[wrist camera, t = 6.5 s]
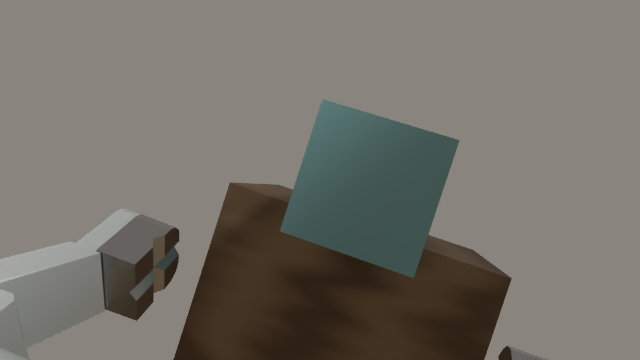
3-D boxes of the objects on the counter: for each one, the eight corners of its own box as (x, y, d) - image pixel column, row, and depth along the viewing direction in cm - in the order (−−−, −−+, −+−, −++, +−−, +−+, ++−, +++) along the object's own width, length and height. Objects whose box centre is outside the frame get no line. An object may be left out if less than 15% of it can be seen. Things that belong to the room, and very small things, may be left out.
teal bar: (413, 278, 13) (459, 140, 13) (279, 231, 13) (322, 99, 13) (399, 220, 37) (415, 172, 36) (351, 204, 37) (366, 157, 37)
